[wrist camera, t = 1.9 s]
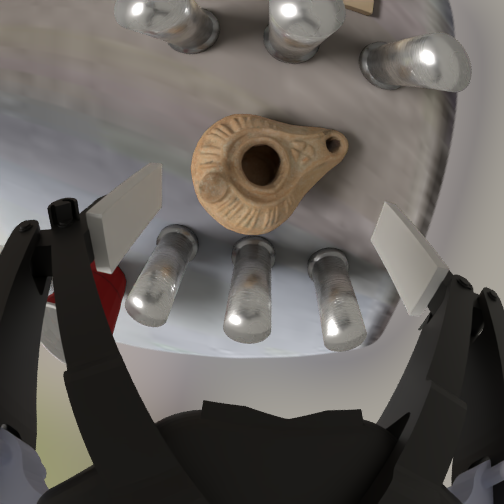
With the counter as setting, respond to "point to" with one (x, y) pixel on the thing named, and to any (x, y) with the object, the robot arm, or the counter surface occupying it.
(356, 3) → the ash board
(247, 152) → the pottery oil lamp
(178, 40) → the posts
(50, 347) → the plastic cup
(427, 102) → the counter surface
